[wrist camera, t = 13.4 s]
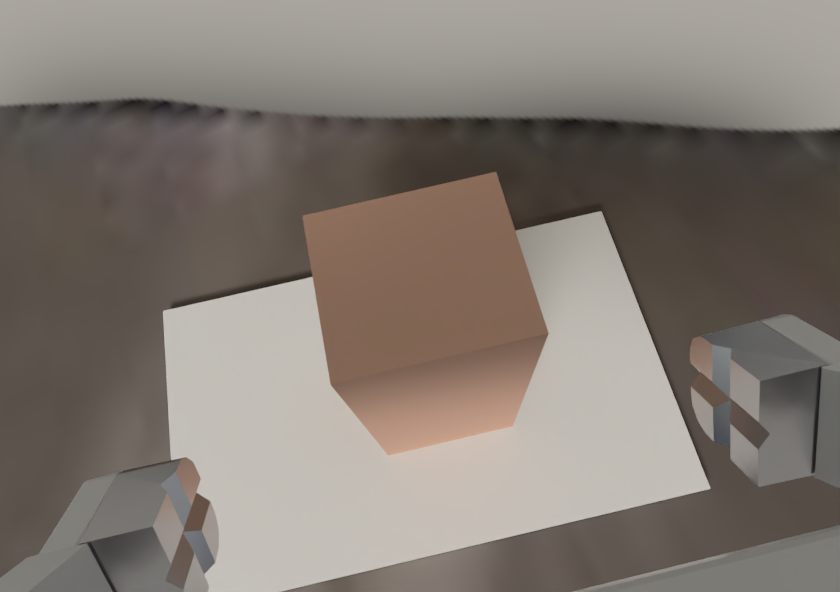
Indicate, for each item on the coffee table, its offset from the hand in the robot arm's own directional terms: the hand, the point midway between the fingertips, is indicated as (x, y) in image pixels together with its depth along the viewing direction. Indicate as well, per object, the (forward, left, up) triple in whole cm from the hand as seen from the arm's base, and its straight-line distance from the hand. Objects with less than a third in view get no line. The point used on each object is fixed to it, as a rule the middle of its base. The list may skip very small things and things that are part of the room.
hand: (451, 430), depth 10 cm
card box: (0, +4, -12) cm, 13 cm away
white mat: (-1, +4, -12) cm, 13 cm away
